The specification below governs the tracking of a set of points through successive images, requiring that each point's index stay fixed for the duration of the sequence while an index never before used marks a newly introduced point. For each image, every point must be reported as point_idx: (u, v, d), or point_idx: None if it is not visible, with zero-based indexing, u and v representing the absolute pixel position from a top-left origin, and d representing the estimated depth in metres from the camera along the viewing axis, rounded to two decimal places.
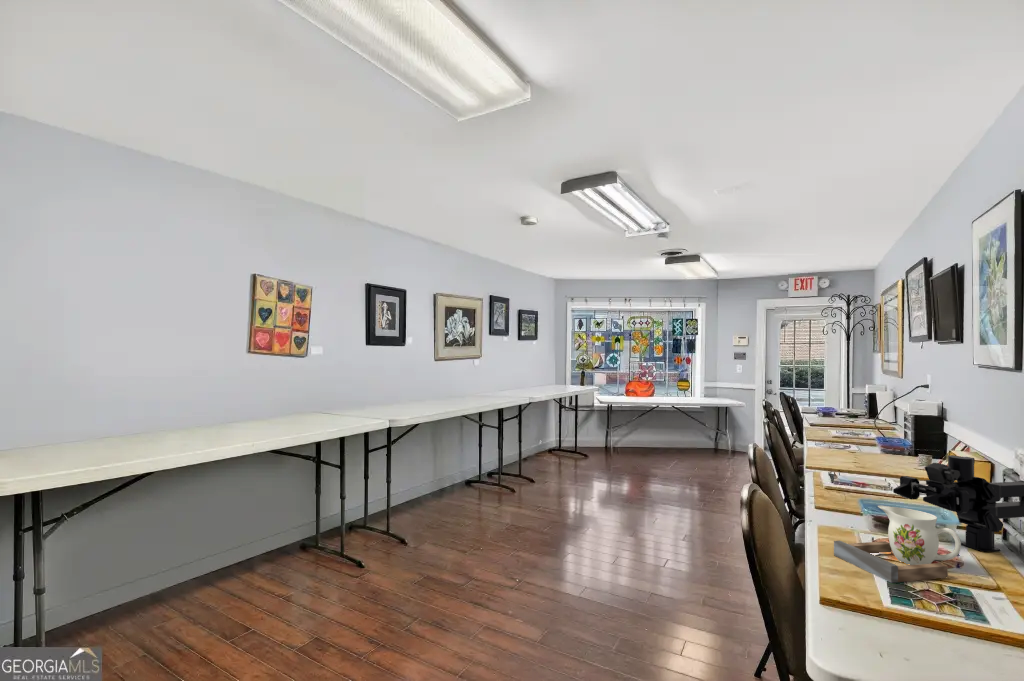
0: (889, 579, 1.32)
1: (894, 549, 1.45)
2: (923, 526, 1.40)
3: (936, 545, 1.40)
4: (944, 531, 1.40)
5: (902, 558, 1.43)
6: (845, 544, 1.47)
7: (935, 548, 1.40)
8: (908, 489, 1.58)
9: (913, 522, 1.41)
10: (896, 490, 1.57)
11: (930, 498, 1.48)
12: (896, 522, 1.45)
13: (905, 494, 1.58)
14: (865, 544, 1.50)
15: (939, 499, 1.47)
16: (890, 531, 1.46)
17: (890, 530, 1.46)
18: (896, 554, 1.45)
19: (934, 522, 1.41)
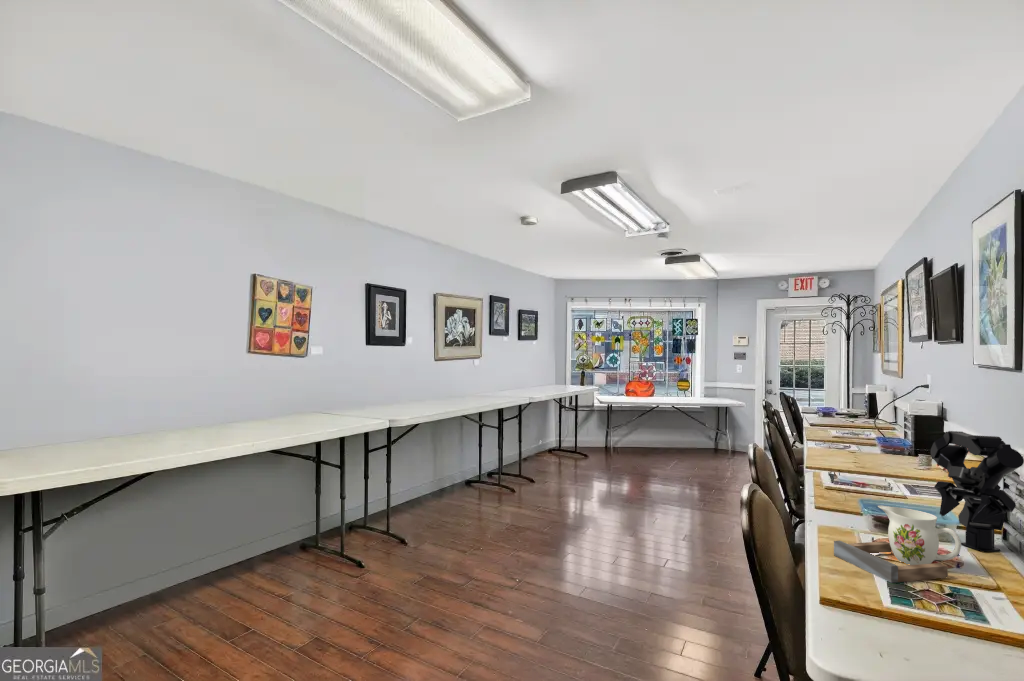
0: (889, 579, 1.32)
1: (894, 549, 1.45)
2: (923, 526, 1.40)
3: (936, 545, 1.40)
4: (944, 531, 1.40)
5: (902, 558, 1.43)
6: (845, 544, 1.47)
7: (935, 548, 1.40)
8: (950, 499, 1.54)
9: (913, 522, 1.41)
10: (942, 512, 1.52)
11: (977, 516, 1.43)
12: (896, 522, 1.45)
13: (951, 506, 1.53)
14: (865, 544, 1.50)
15: (985, 511, 1.43)
16: (890, 531, 1.46)
17: (890, 530, 1.46)
18: (896, 554, 1.45)
19: (934, 522, 1.41)
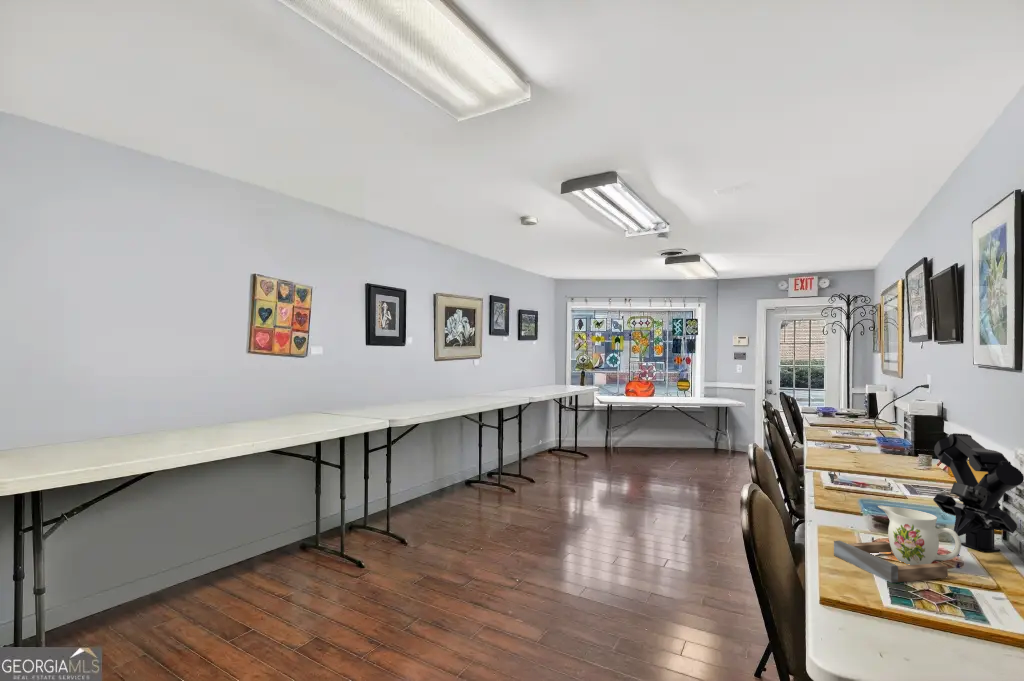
0: (889, 579, 1.32)
1: (894, 549, 1.45)
2: (923, 526, 1.40)
3: (936, 545, 1.40)
4: (944, 531, 1.40)
5: (902, 558, 1.43)
6: (845, 544, 1.47)
7: (935, 548, 1.40)
8: (965, 518, 1.48)
9: (913, 522, 1.41)
10: (956, 532, 1.47)
11: (961, 530, 1.46)
12: (896, 522, 1.45)
13: None
14: (865, 544, 1.50)
15: (968, 525, 1.46)
16: (890, 531, 1.46)
17: (890, 530, 1.46)
18: (896, 554, 1.45)
19: (934, 522, 1.41)
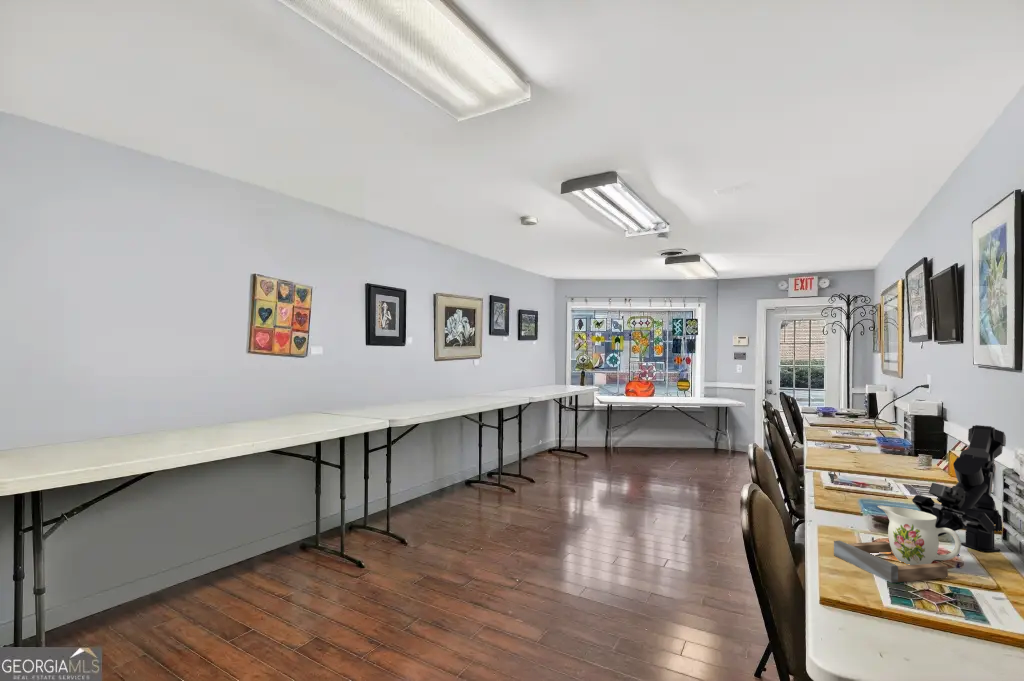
0: (889, 579, 1.32)
1: (894, 549, 1.45)
2: (923, 526, 1.40)
3: (936, 545, 1.40)
4: (944, 531, 1.40)
5: (902, 558, 1.43)
6: (845, 544, 1.47)
7: (935, 548, 1.40)
8: (943, 519, 1.47)
9: (913, 522, 1.41)
10: None
11: None
12: (896, 522, 1.45)
13: None
14: (865, 544, 1.50)
15: (946, 526, 1.45)
16: (890, 531, 1.46)
17: (890, 530, 1.46)
18: (896, 554, 1.45)
19: (934, 522, 1.41)
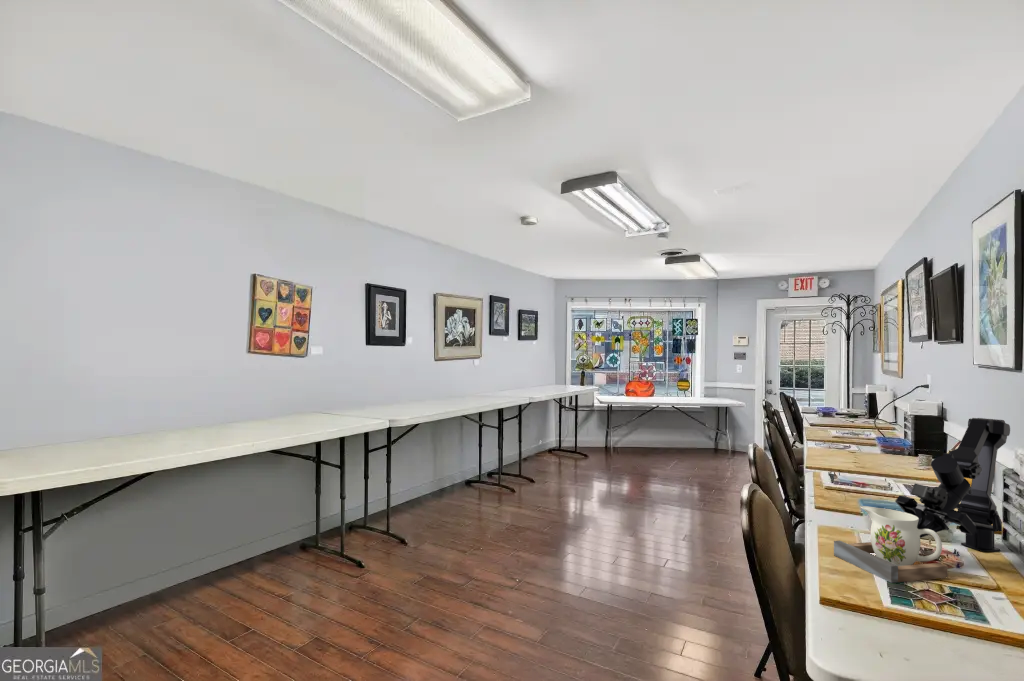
0: (889, 579, 1.32)
1: (875, 550, 1.44)
2: (904, 527, 1.39)
3: (917, 546, 1.39)
4: (925, 532, 1.39)
5: (884, 559, 1.43)
6: (845, 544, 1.47)
7: (916, 549, 1.39)
8: (925, 520, 1.46)
9: (894, 523, 1.40)
10: None
11: None
12: (878, 523, 1.44)
13: None
14: (865, 544, 1.50)
15: (928, 527, 1.43)
16: (872, 532, 1.45)
17: (872, 531, 1.46)
18: (877, 555, 1.44)
19: (915, 523, 1.40)
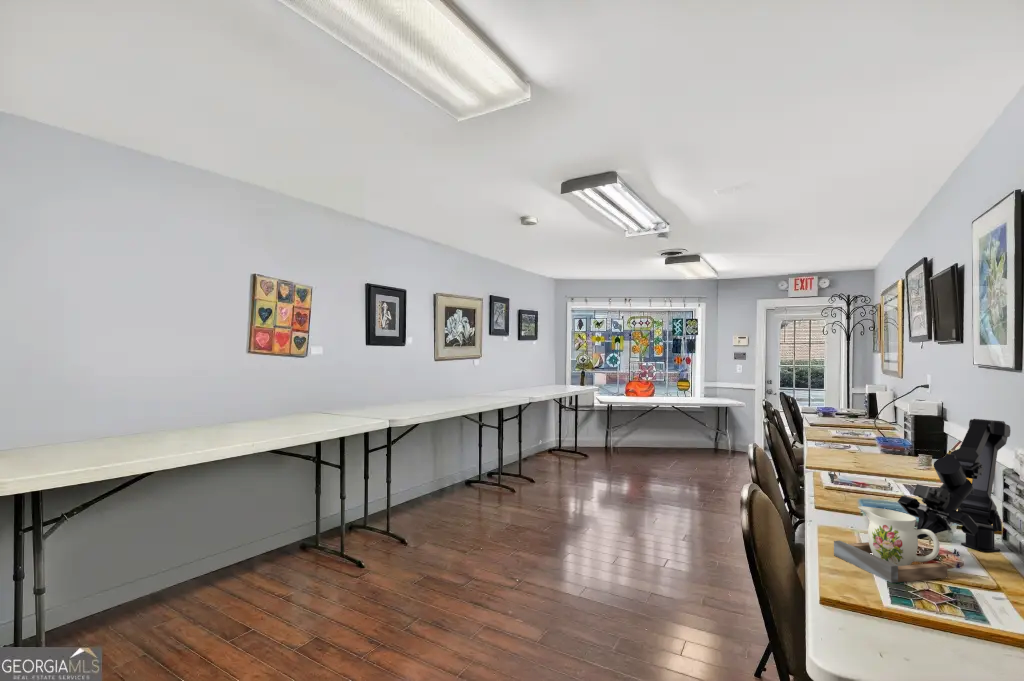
0: (889, 579, 1.32)
1: (873, 550, 1.44)
2: (902, 527, 1.39)
3: (915, 546, 1.39)
4: (923, 532, 1.39)
5: None
6: (845, 544, 1.47)
7: (914, 549, 1.39)
8: (928, 520, 1.46)
9: (891, 523, 1.40)
10: (919, 535, 1.45)
11: None
12: (875, 523, 1.44)
13: None
14: (865, 544, 1.50)
15: (931, 528, 1.44)
16: (869, 532, 1.45)
17: (869, 531, 1.45)
18: (875, 555, 1.44)
19: (913, 523, 1.40)
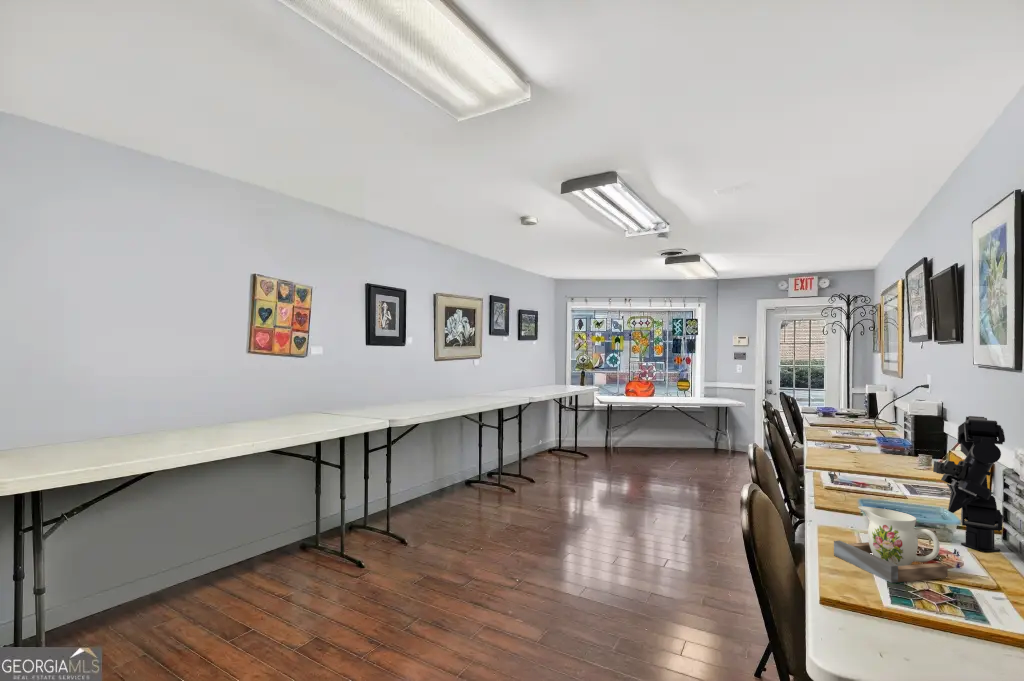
0: (889, 579, 1.32)
1: (873, 550, 1.44)
2: (902, 527, 1.39)
3: (915, 546, 1.39)
4: (923, 532, 1.39)
5: None
6: (845, 544, 1.47)
7: (914, 549, 1.39)
8: None
9: (891, 523, 1.40)
10: None
11: (953, 507, 1.51)
12: (875, 523, 1.44)
13: None
14: (865, 544, 1.50)
15: (958, 500, 1.50)
16: (869, 532, 1.45)
17: (869, 531, 1.45)
18: (875, 555, 1.44)
19: (913, 523, 1.40)
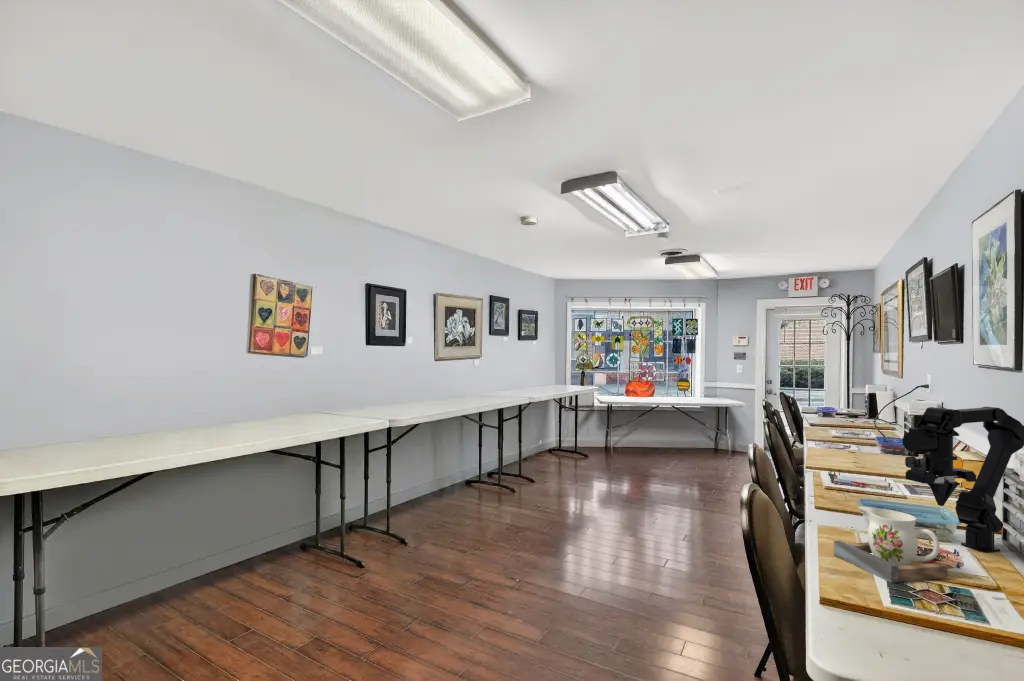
0: (889, 579, 1.32)
1: (873, 550, 1.44)
2: (902, 527, 1.39)
3: (915, 546, 1.39)
4: (923, 532, 1.39)
5: None
6: (845, 544, 1.47)
7: (914, 549, 1.39)
8: None
9: (891, 523, 1.40)
10: None
11: (937, 499, 1.55)
12: (875, 523, 1.44)
13: None
14: (865, 544, 1.50)
15: (936, 492, 1.54)
16: (869, 532, 1.45)
17: (869, 531, 1.45)
18: (875, 555, 1.44)
19: (913, 523, 1.40)
